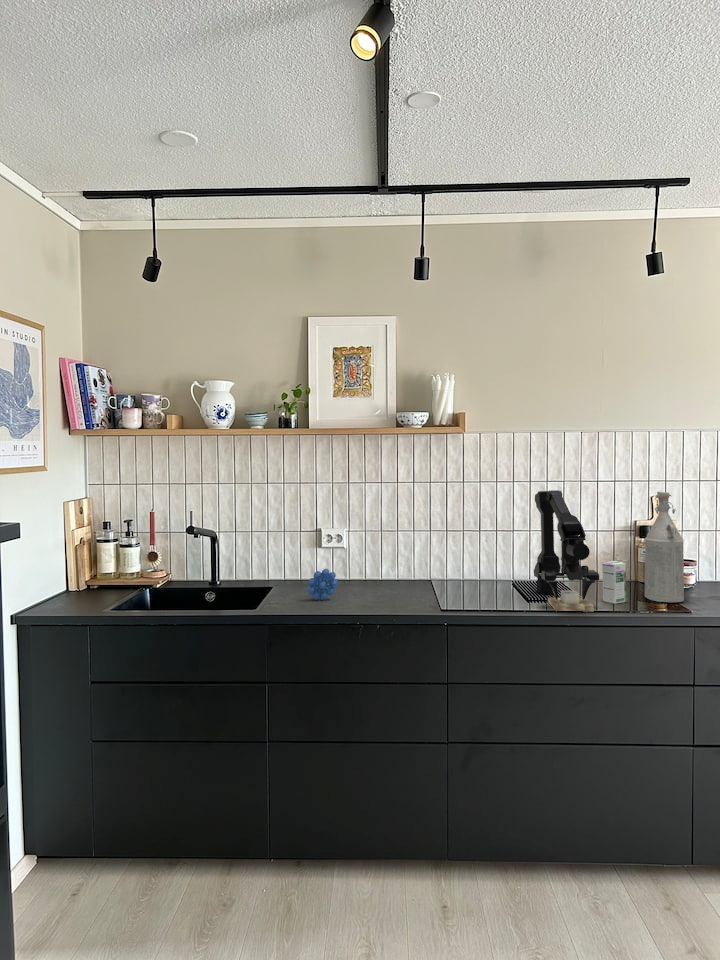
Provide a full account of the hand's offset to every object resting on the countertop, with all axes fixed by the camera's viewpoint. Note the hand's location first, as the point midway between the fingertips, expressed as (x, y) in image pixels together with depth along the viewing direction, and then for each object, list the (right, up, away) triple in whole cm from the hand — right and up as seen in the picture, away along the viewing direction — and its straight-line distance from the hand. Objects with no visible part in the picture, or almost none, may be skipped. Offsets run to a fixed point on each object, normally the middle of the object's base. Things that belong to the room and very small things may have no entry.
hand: (570, 599), depth 222 cm
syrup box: (+19, -2, +8) cm, 20 cm away
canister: (+38, -2, +10) cm, 39 cm away
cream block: (0, -3, 0) cm, 3 cm away
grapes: (-88, -4, +19) cm, 90 cm away
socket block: (0, -3, 0) cm, 3 cm away
